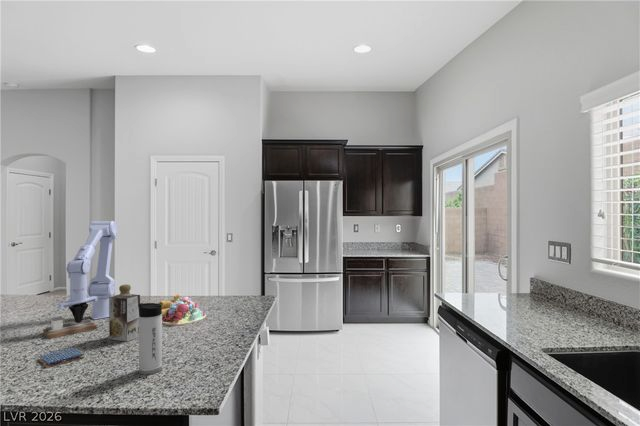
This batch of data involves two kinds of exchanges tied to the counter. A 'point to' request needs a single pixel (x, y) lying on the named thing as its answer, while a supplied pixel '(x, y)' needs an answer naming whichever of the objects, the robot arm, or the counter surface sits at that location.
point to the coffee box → (124, 317)
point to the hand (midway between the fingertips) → (78, 322)
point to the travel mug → (150, 338)
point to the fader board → (70, 329)
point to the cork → (125, 289)
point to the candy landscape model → (180, 311)
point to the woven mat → (60, 357)
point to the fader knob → (56, 323)
